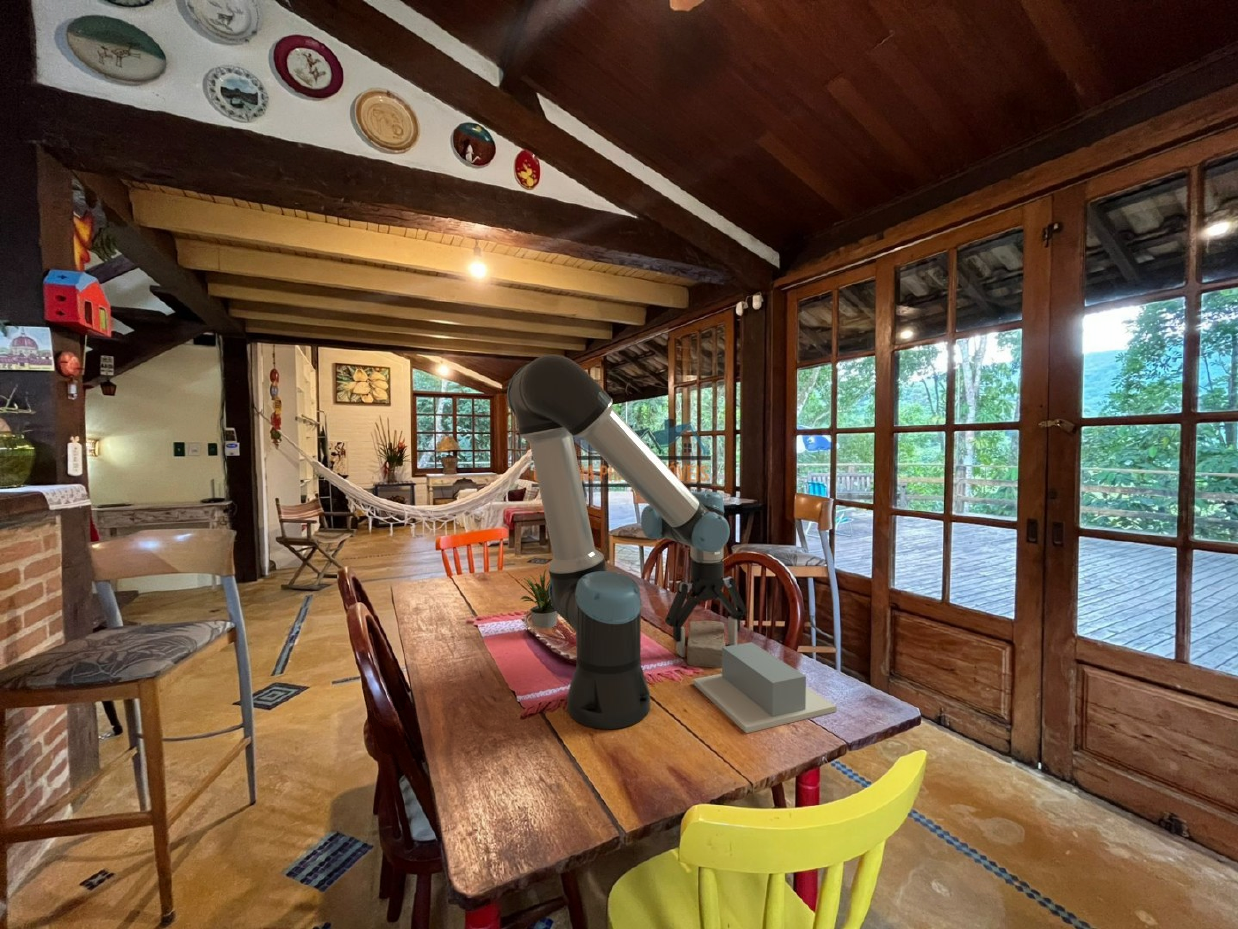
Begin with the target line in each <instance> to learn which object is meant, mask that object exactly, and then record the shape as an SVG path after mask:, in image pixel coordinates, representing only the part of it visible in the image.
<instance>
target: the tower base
mask: <svg viewBox="0 0 1238 929" xmlns="http://www.w3.org/2000/svg"><path fill="white" fill-rule="evenodd" d="M692 680H693V681H692V684H693V685H694V686H695V687H696V688H697V689H698V690H699V691H700V692H701V693H702V694H703V695H704V696H706V697H707V698H708V699H709V701H711V702H712V703H713V704H714V705H715V706H716V707H717V708H718V709H719V710H720V711H721V712H723V713H724V715H726V716H727V717H728V718H729V719H730V720H731V721H733V723H735V725H737V726H738V727H739V728H740V729H741V730H742V731H743V732H745V734H749V733H753V732H757V731H761V730H765V729H770V728H774V727H777V726H782V725H786V724H790V723H794V722H799V721H803V720H807V719H811V718H814V717H820V716H823V715H827V714H832V713H836V712H837V707H838V706H837V705H836V704H834V703H833V702H831V701H830V700H828V699H826V698H825V697H824V696H822V695H821V694H819V693H817V692H816V691H814V690H813V689H811V688H810V687H808V686H807V676H806V675H805V674H803V673H801V672H800V671H799V670H797V669H795V668H794V667H792V666H790V665H789V664H787V663H786V662H784V661H782V659H779V658H778V657H776V656H775V655H773V654H771V652H770V653H769V652H768V651H766V650H765V649H764V648H761V647H760V646H759V645H757V644H756V643H754V642H752V641H751V642H746V643H737V645H732V646H731V645H725V647H722V668H721V673H719V674H713V675H708V676H703V677H697V678H693V679H692Z"/></svg>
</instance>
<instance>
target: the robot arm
mask: <svg viewBox="0 0 1238 929" xmlns="http://www.w3.org/2000/svg"><path fill="white" fill-rule="evenodd" d="M506 393H507V394H506V395H507V397H506V398H507V402H508V406H509V408H510V410H511V412H512V413H513V415H514V416H515V418H516V422H517V427H518V432H519V436H520V437H521V438H522V439H523V440H525V441H527V442H528V443H529V446H530V451H531V455H532V460H533V464H534V469H535V475H536V479H537V480H536V481H537V485H538V489H539V493H540V497H541V498H540V499H541V503H542V508H543V513H544V517H545V518H544V519H545V522H546V528H547V531H548V536H549V540H550V545H551V546H550V547H551V550H552V555H553V556H552V557H553V558H552V560H551V561H550V563H549V565H548V567H547V570H548V573H549V578H550V579H551V580H550V579H549V580H550V582H549V584H548V585H549V598H550V600H551V603H552V604H551V605H553V607H554V609H555V611H556V612H557V613H558V616H560V617H561V618H562V619H563V620H564V621H565V622H566V623H567V624H568V625H569V626H570V627H571V628H572V629H573V630H574V632H575V633H576V667H575V669H574V673H573V676H572V679H571V681H570V682H571V683H570V686H569V688H568V693H567V695H566V696H567V697H566V700H567V702H566V703H567V705H566V707H567V712H568V714H569V716H570V717H571V719H573V720H574V721H576V722H577V723H578V724H581V725H584V726H586V727H590V728H593V729H600V730H601V729H602V730H604V729H605V730H612V729H613V730H614V729H621V728H626V727H629V726H633V725H635V724H637V723H639V722H641V721H642V720H643V719H645V718H646V717H647V716H648V714H649V713H650V711H651V692H650V690H649V687H648V684H647V683H648V682H647V680H646V678H645V674H644V671H643V668H642V663H641V652H642V651H641V650H642V649H641V648H642V647H641V639H642V638H641V636H642V635H641V634H642V632H641V630H642V627H641V624H642V623H641V621H642V617H641V616H642V615H641V614H642V613H641V612H642V599H641V592H640V591H641V590H640V586H639V583H637V581H636V580H635V579H634V578H632V577H630V576H629V575H627V574H624V573H618V572H616V571H611V570H610V571H609V570H607V565H606V559H605V556H604V555H605V554H603V553H602V552H601V551H599V550H597V549H596V547H595V541H594V537H593V533H592V527H591V524H590V518H589V512H588V507H587V502H586V497H585V491H584V487H583V482H582V478H581V472H580V466H579V461H578V458H577V452H576V447H575V442H574V441H575V440H574V438H582V439H583V440H584V441H585V442H586V443H587V444H588V445H589V446H590V447H591V448H592V449H593V450H594V451H595V452H596V453H597V454H598V455H599V456H600V457H601V458H602V459H603V460H604V461H605V462H606V463H607V464H608V465H609V466H610V467H611V468H612V469H613V470H614V471H615V472H616V473H617V474H618V475H619V476H620V477H621V478H622V479H623V480H624V481H625V482H626V483H627V484H628V485H629V486H630V487H631V489H633V490H634V491H635V492H636V493H637V494H638V495H639V496H640V497H641V498H642V499H643V500H644V501H645V503H647V504H648V505H646V506H645V507H644V508H643V510H642V512H641V515H640V526H641V531H642V533H643V535H644V536H645V537H646V538H647V539H649V540H660V541H661V540H662V539H668V540H671V541H674V542H676V543H680V544H682V545H685V546H688V547H690V553H689V554H690V558H691V560H690V579H691V580H690V582H683V581H679V582H678V584H677V591H676V594H675V596H674V599H673V601H672V603H671V605H670V607H669V610H668V613H667V614H666V617H665V619H664V622H665V624H667V625H668V626H670V627H671V628H672V630H673V631H672V632H673V635H672V637H673V640H674V641H675V642H676V653H677V655H679V656H680V657H681V658H685V657H686V628H685V627H684V626H683V625H684V624H685V623H686V621H687V620H688V619H689V616H690V615H691V614H692V613H693V611H694V610H695V608H696V607H697V605H699V604H700V603H701V602H707V601H710V600H711V601H715V600H716V599H717V600H718V601H719V602H720V603H721V605H722V606H723V607H724V608H725V610H726V611H728V613H729V614H730V616H727V617H728V618H727V620H728V621H727V629H728V630H727V633H728V634H727V638H728V639H727V641H728V642H727V643H728V645H729V646H732V645H738V632H740V630H741V621H742V620H743V619H744V616H747V615H748V614H749V612H748V610H747V608H746V605H745V603H744V601H743V599H742V597H741V595H740V592H739V590H738V588H737V582H736V579H735V577H734V578H733V577H732V576H729V575H727V576H725V578H724V574H725V567H724V566H725V565H724V564H725V562H724V560H723V559H724V553H725V552H724V547H725V546H726V545H727V543H728V541H729V538H730V534H731V533H730V532H731V531H730V530H731V529H730V525H729V522H728V520H727V519H726V518H725V506H724V505H725V504H724V497H723V495H722V494H721V493H719V492H716V491H696V492H691V490H690V489H689V488H688V487H687V486H686V485H685V484H684V483H683V482H682V481H681V480H680V479H679V478H678V477H677V476H676V475H675V474H674V472H673V471H672V470H671V469H670V468H669V467H668V466H667V464H666V463H665V462H663V460H662V459H661V458H660V457H659V456H658V455H657V454H656V453H655V451H653V450H652V449H651V448H650V447H649V445H648V444H647V443H646V442H645V441H644V440H643V439H642V438H641V437H640V436H639V434H637V433H636V431H634V429H633V428H632V427H631V426H630V425H629V424H628V423H627V422H626V421H625V419H624V418H622V416H621V415H620V414H619V413H618V411H616V410H615V409H614V407H613V398H612V397H611V396H610V394H608V392H606V391H605V390H604V388H603V387H602V386H601V385H600V384H599V383H598V382H597V381H596V380H595V379H594V378H593V376H592V375H590V374H589V372H587V370H585V369H584V368H583V367H582V366H580V365H579V364H578V363H577V362H575V361H574V360H572V359H570V358H569V357H566V356H564V355H560V354H547V355H542V356H539V357H537V358H535V359H534V360H533V361H531V362H530V363H528V364H525V365H523V366H522V367H520V368H518V370H517V371H516V372H515V373H514V374H513V376H512V378H511V379H510V381H509V383H508V386H507V392H506ZM724 587H726V589H727V591H728V593H729V595H730V598H731V600H732V602H733V603H731V600H730V601H729V599H728V598H727V596H726V595H725V593H724V592H723V591H722V590H723V588H724ZM690 590H691V592H690ZM688 593H689V594H688ZM687 595H688V596H687ZM686 598H687V600H686ZM733 604H734V605H733Z"/></svg>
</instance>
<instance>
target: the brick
mask: <svg viewBox="0 0 1238 929" xmlns="http://www.w3.org/2000/svg"><path fill="white" fill-rule="evenodd" d="M688 625H689V628H688V637H687V643H686V645H687V647H686V648H687V649H686V650H687V653H686V654H687V655H686V656H687V659H686V660H687V661H686V662H687V664H688V665H689V666H694V667H708V668H714V669H722V647H726V640H725V638H726V637H725V634H726V633H725V623H723V622H721V621H716V620H697V621H694V620H690V621H689V624H688Z"/></svg>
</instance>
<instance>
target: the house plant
mask: <svg viewBox="0 0 1238 929" xmlns="http://www.w3.org/2000/svg"><path fill="white" fill-rule="evenodd" d="M546 572H547V568H545V570H544V572H543V575H542V574H541V573H539V578H540V580H539V581H540V584H539V583H538V582H537V581H536V578H534V576H532V575H530V574H529V576H530V577H532V579H533V580H534V583H533V581H531V579H530V578H529V577H527V576H525V577H523V579H524V580H525V581H524V583H525V584H526V585H527V586H528V588H527V589H530V591H531V592H532V593H533V595H534V597H535V600H534V599H533V598H532V597H530V596H528V595H524V596H522V597H521V598H520V600H519V601H521V600H523V601H522V603H523V602H533V603H534V604H535V605H534V606H532V607H531V608H530V610H529V611H530V616H531V617H530V618H531V623H532V627H533V626H536V627H539V628H546V629H547V628H552V627H554V626H556V627H557V624H558V617H559V614H558V613H557V612H556V611H555V609H554V607H553V605H552V603H551V600H550V597H549V583H550V580H551V579H549V580H548V582H547V584H546ZM517 580H519V581H521V579H520V578H517Z"/></svg>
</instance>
